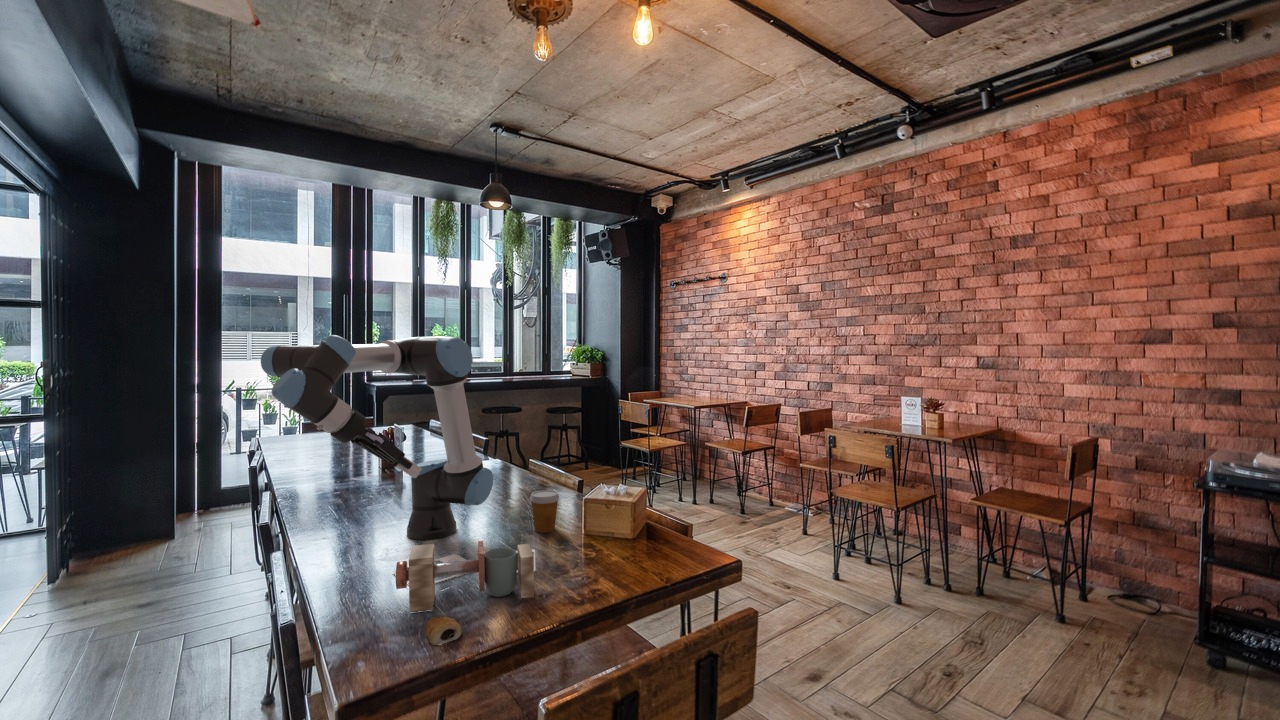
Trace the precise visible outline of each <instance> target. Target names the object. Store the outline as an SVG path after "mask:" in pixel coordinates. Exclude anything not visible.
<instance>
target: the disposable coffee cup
mask: <svg viewBox="0 0 1280 720" xmlns="http://www.w3.org/2000/svg"><path fill="white" fill-rule="evenodd" d="M559 499H560V495H559V493H558V491H556V490H552V489H543V490H537V491H533V492H532V493H531V495H530V497H529V500H530V502H531V508H532V515H533V523H534V530H535V532H537V533H540V534H541V533H543V534H545V533H546V534H547V533H551V532H554V531H555V529H556V520H557V519H556V518H557V510H558V501H559Z"/></svg>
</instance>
